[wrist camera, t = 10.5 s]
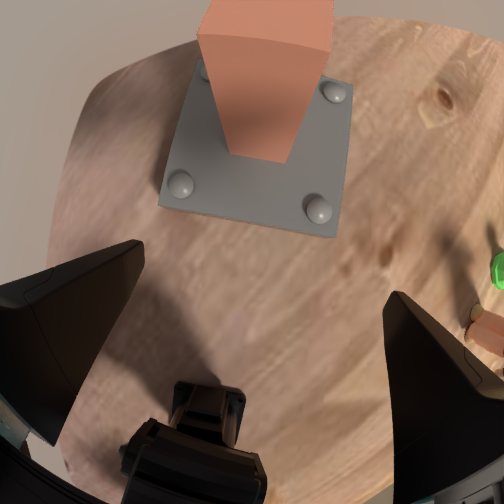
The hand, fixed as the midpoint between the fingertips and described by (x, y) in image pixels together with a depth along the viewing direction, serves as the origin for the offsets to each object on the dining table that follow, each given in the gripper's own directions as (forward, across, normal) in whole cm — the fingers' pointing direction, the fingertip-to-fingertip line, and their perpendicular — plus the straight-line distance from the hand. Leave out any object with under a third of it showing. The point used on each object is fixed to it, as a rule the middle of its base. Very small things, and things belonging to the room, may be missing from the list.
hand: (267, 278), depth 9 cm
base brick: (+16, +2, -2) cm, 16 cm away
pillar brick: (+13, +2, -3) cm, 14 cm away
